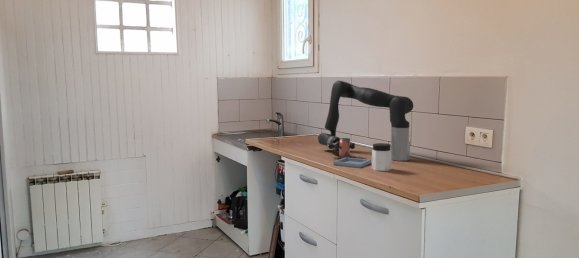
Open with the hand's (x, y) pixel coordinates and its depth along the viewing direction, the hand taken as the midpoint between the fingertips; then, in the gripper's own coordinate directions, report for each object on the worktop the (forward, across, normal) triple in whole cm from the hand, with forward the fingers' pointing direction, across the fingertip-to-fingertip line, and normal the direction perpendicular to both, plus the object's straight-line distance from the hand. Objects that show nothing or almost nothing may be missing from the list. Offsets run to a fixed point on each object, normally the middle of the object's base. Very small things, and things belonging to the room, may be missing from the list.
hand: (345, 147), depth 234 cm
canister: (-2, 0, +6) cm, 7 cm away
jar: (+28, +7, +7) cm, 30 cm away
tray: (+13, -1, +6) cm, 14 cm away
